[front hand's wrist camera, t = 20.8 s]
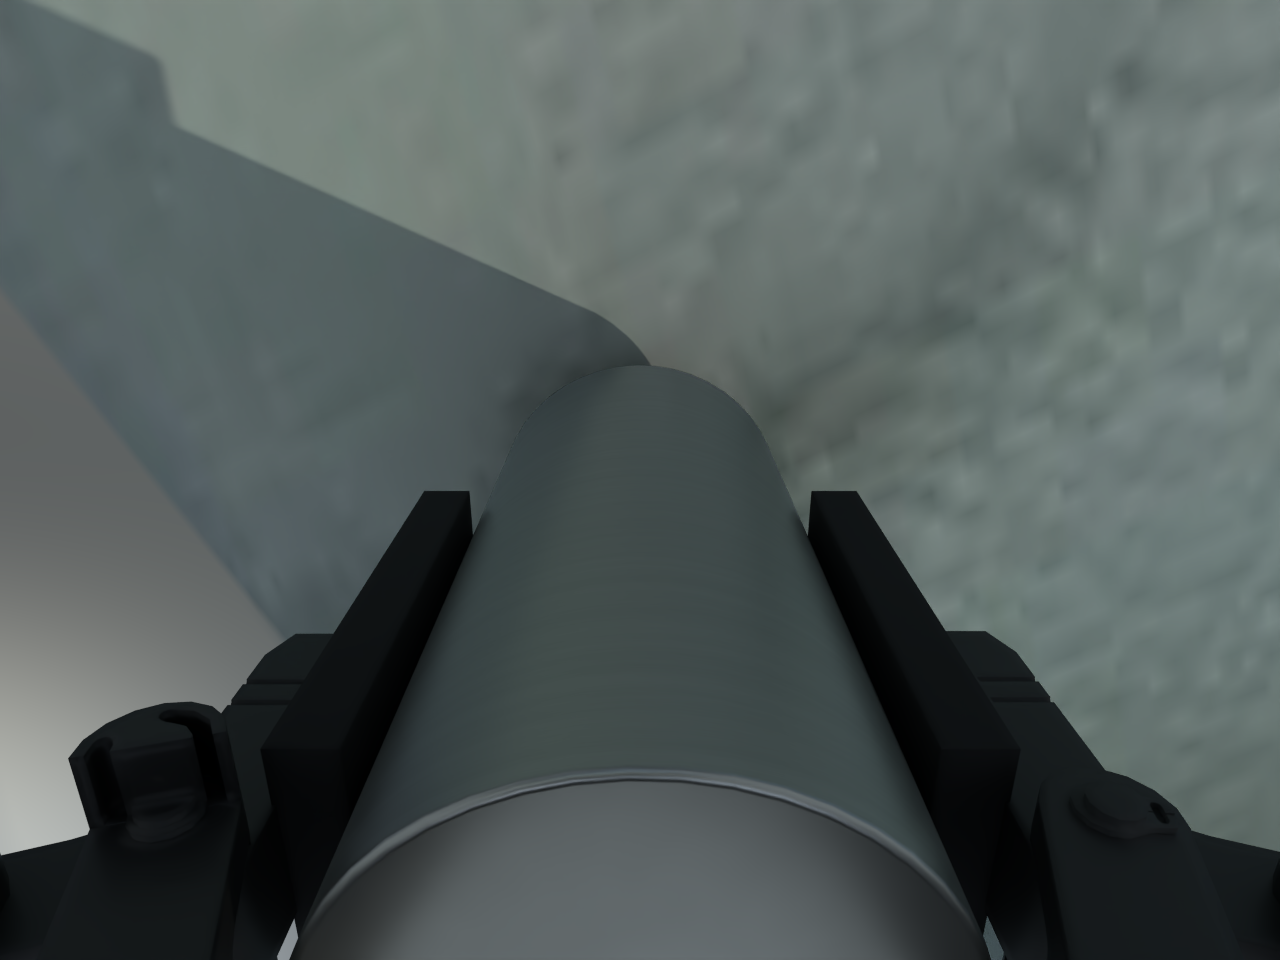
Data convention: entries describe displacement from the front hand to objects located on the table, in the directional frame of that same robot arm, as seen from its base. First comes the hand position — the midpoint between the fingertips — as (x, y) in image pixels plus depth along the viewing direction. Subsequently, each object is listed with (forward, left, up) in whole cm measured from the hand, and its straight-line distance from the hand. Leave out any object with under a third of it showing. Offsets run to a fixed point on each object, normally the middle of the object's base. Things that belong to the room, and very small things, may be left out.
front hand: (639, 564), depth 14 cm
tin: (0, 0, -3) cm, 3 cm away
